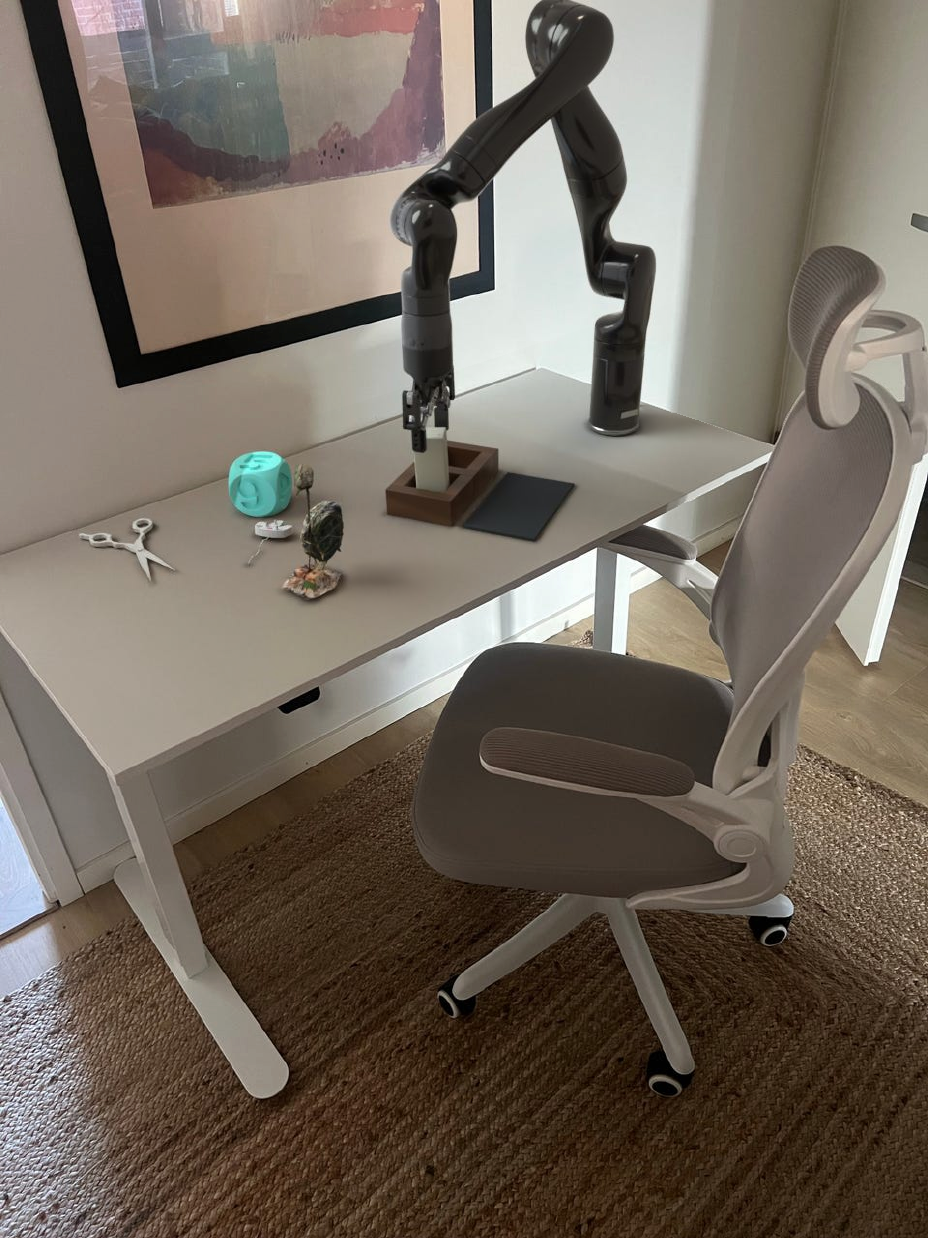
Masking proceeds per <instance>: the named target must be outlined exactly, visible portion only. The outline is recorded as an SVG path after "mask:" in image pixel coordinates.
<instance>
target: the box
mask: <svg viewBox="0 0 928 1238" xmlns="http://www.w3.org/2000/svg"><path fill="white" fill-rule="evenodd" d="M426 439H427V450H426V451H425V452H424V453H419V452H414V451H413V462H414V463H415V476H416V488H418V489H424V490H429V491H435V492H440V493H444V492H445V491H446V490H447V489H448V488H449V487H450V486H449V468H448V450H447V440H448V435H447V431H446V427H435V426H434V427H431V426H428V427H427V426H426Z"/></svg>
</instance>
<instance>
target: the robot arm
mask: <svg viewBox="0 0 928 1238" xmlns="http://www.w3.org/2000/svg"><path fill="white" fill-rule="evenodd" d="M524 33H525V35H524V40H525V41H524V43H525V50H526V51H525V52H526V56H527V59H528V62H529V64H530V67H531V70H532V73H533V75H534V79H533V80H532V81H531V82H530V83H529V84H527V85H526V86H524V88H521V90H519V91H518V92H516V93H515V94H513V95H511V96H510V97H509V98H507V99H505V100H503V101H502V102H500V103H498V104H496V105H495V106H492V108H490V109H488V110H487V111H485V112H484V113H482V114H481V115H479V116H478V117H477V118H476V119H474V120H473V121H472V122H471V123H470V124H469V125H468V126H467V127H466V129H464V131H463V132H461V134H460V135H459V136H458V138H456V140H455V141H454V142H453V144H451V146H450V148H449V149H448V150H447V152H446V153H444V155H443V156H442V158H441V159H440V160H439V161H438V162H437V163H436V164H435V165H433V166H432V167H430V168H429V169H427V170H426V171H425V172H424V173H423V174H422V175H420V176H419V177H418V178H417V179H415V180H414V181H413V182H412V183H411V184H410V185H409V186H408V187H407V188H405V189H404V190H403V191H402V192H401V194H400V195H399V197H398V198H397V199H396V201H395V203H394V204H393V206H392V209H391V212H390V215H389V216H390V217H389V218H390V219H389V225H390V229H391V232H392V234H393V235H394V237H395V238H396V239H397V240H398V241H399V242H401V243H402V244H403V245H406V246H409V247H411V252H412V253H411V262H410V263H411V265H410V266H408V267H407V268H406V269H404V270H403V271H402V274H401V278H400V279H401V280H400V291H401V292H400V294H401V295H400V296H401V325H400V327H401V328H400V329H401V346H402V347H401V348H402V366H403V371H404V372H405V373H406V374H407V375H409V376H410V377H411V378H412V386H411V390H407V389H404V390H403V391H402V394H401V399H402V400H401V401H402V402H401V403H402V429H403V430H408V431H410V434H411V449H412V451H413V453H414V452H419V453H424V452H425V451H426V450H427V439H426V427H427V425H428V422H429V421H428V420H429V418H430V417H432V416H433V417H434V420H433V421H434V427H446V432H447V431H449V430H450V420H449V416H450V415H449V413H450V412H449V409H450V408H451V405H452V402H451V401H455V399H456V385H455V383H456V382H455V366H454V342H453V341H454V340H453V339H454V338H453V337H454V336H453V319H452V312H451V288H450V287H451V286H450V279H451V274H452V270H453V266H454V262H455V255H456V250H457V244H458V224H457V220H456V216H455V213H454V212H453V208H455V207H456V206H458V205H459V204H462V203H469V202H470V203H471V202H473V201H474V200H476V199H477V198H479V196H480V195H481V194H482V193H483V192H484V190H485V189H486V188H487V187H488V185H489V184H490V183H491V182H492V181H493V180H494V179H495V178H496V176H497V175H498V173H499V172H500V171H501V170H502V169H503V167H504V166H505V165H506V164H507V163H508V161H510V159H511V158H512V157H513V155H515V154H516V152H518V150H519V149H520V148H521V147H522V146H523V145H524V144H525V143H526V142H527V141H528V140H529V139H530V138H531V137H532V136H534V134H535V133H536V132H538V131H539V130H540V129H541V128H542V127H543V126H544V125H546V124H547V123H548V122H549V121H550V123H551V126H552V129H553V134H554V137H555V140H556V144H557V147H558V151H559V154H560V159H561V163H562V168H563V172H564V176H565V180H566V184H567V188H568V190H569V193H570V197H571V199H572V203H573V208H574V210H575V216H576V219H577V223H578V224H577V225H578V228H579V233H580V239H581V244H582V250H583V251H582V252H583V258H584V265H585V271H586V277H587V281H588V284H589V287H590V289H591V290H592V291H593V293H595V294H597V295H599V296H601V297H606V298H610V299H611V298H612V299H616V300H622V301H624V303H623V307H622V310H621V311H616V312H612V313H607V314H604V315H602V316H600V317H599V318H597V319H596V321H595V323H594V330H593V332H594V333H593V349H592V369H591V385H590V400H589V401H590V402H589V417H588V422H587V423H588V427H589V429H590V430H591V431H593V432H594V433H597V434H600V435H603V436H613V437H614V436H615V437H617V436H618V437H619V436H626V435H630V434H633V433H635V432H636V431H638V430H639V428H640V427H639V426H640V410H641V409H640V408H641V400H642V399H641V398H642V388H643V376H644V366H645V365H644V364H645V354H646V353H645V352H646V341H647V330H648V327H649V322H650V317H651V310H652V301H653V293H654V287H655V282H656V274H657V257H656V254H655V251H654V249H653V248H652V247H651V246H649V245H644V244H638V243H631V242H624V241H617V240H615V238H614V237H613V235H612V233H611V227H610V221H611V220H612V218H613V215H614V214H615V211H616V210H617V209H618V207H619V205H620V203H621V200H622V199H623V196H624V195H625V192H626V190H627V189H626V188H627V184H628V173H627V167H626V162H625V157H624V152H623V148H622V144H621V141H620V139H619V135H618V134H617V131H616V130H615V128H614V126H613V124H612V123H611V121H610V120H609V119H610V118H608V116H607V115H606V113H605V111H604V110H603V109H602V107H601V105H600V104H599V102H598V101H597V99H596V97H595V96H594V95H593V93H592V91H591V88H590V87H589V85H590V84H591V83H592V82H593V81H594V80H595V79H596V78H597V77H598V76H599V75H600V74H601V72H602V71H603V70H604V69H605V67H606V65H607V63H608V62H609V60H610V58H611V54H612V52H613V48H614V41H615V34H614V27H613V24H612V21H611V20H610V18H609V17H608V16H607V15H606V14H605V13H604V12H602V11H600V10H598V9H596V8H594V7H592V6H589V5H586V4H583V3H580V2H578V1H574V0H540V1H538V2H537V3H536V4H535V5H534V7H533V8H532V9H531V11H530V13H529V16H528V19H527V22H526V26H525V32H524Z"/></svg>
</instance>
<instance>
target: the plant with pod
mask: <svg viewBox="0 0 928 1238" xmlns="http://www.w3.org/2000/svg"><path fill="white" fill-rule="evenodd" d="M314 472H315V471H314V469H313V467H312V466H310V465H308V464H302V463H301V464H299V465H296V466H295V468H294V474H293V486H294V487H295V488H296V491H295V497H296V498H298V497H299V493H300V492H302V491H304V490H305V492H306V504H307V513H306V515H305V517H304V520H303V522H302V527H301V532H300V536H299V537H300V540H301V546H302V550H303V552H304V554H306V555H307V556H308V563H307V564H302V565H300V566H299V567H297V568H296V569H295V570H294V571H293V573H292V574H290V576H287V577H286V580H285V581H284V583H283V585H282V586H281V588H282V590H290V592H293V593H296V596H299V597H300V596H301V598H302V599H304V600H307V601H308V600H312V599H315V598H317V597H320V596H322V595H323V594H325V593H326V592H329V591H332V590H333V589H335V588H336V587H337V585H338V583H339V579H340V578H341V574H342V573H343V572H341V571H334V570H329V569H326V568H325V567H326V565H327V563H328V562H329V560H331V559H332V558H333V557H334V555H335V554H336V552H337V551H338V552H339V553H342V550H341V547H342V543H343V542H342V541H343V538H344V536H345V535H344V534H345V533H344V529H345V524H344V523H345V522H344V517H343V510H342V506H341V505H340V504H342V503H343V501H342V500H341V501H340V504H339V503H337V502H336V501H331V500H322V501H321V502H319V503H318V504H317V505H315V506H313V507H312V508H311V504H310V503H311V500H310V498H311V496H310V495H311V494H310V489H312V488H313V485H314V481H315V479H314ZM312 558H313V560H314V564H312V563H311V562H312V561H311V559H312Z"/></svg>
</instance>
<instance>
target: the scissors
mask: <svg viewBox="0 0 928 1238" xmlns="http://www.w3.org/2000/svg"><path fill="white" fill-rule="evenodd" d="M143 524H147V525H146V526H144V527H139V525H143ZM153 526H154V525H153V521H152V520H151V519H150V518H139V519H136V520H135V521H133V522H132V526H131V527H132V530H133V531H132V532H133V533H138V534H139V536H138V538H137V539H136V540H135V541H134V542H133V543H130V542H129V543H128V542H117V541H114V540H113V535H112V534H110V533H106V532H98V533H94V534H88V533H87V534H86V533H83V532H82V533H81V532H80V533H79V534H78V535H79V538H80V539H81V540H87V541H89V544H90V545H91V546H92V547H95V548H97V547H99V548H101V547H102V548H103V547H113V548H115V549H118V548H119V549H120V548H121V549H126V550H128V551H129V552H131V553H135V554H136V556H137V559H138V562H139V563H140V565H141V567H142V569H143V571H144V572H145V575H146V576H147V578H148V580H149V581H152V579H151V574H150V570H149V569H150V568H149V565H148V559H149V560H150V561H153V562H155V563H158V564H160V565H163V567H167V568H170V569H171V570H173V571H176V569H175V568H173V567H171V565H169V563H167V562H165V561H163V560H162V559H161V558H159V557H158V556H156V555H155V554H153V553H151V551H149V550H147V549H145V547H144V544H143V541H144V540H145V539H146V535H145V534H147V533H148V532H150V531H151V530H152V529H153ZM98 539H105V540H102V541H95V540H98Z"/></svg>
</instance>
